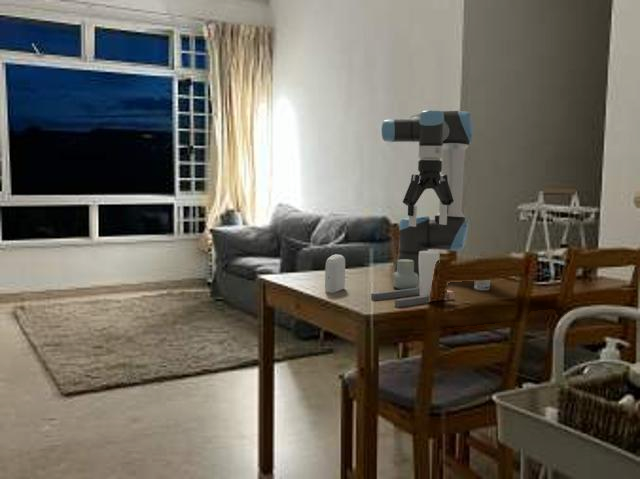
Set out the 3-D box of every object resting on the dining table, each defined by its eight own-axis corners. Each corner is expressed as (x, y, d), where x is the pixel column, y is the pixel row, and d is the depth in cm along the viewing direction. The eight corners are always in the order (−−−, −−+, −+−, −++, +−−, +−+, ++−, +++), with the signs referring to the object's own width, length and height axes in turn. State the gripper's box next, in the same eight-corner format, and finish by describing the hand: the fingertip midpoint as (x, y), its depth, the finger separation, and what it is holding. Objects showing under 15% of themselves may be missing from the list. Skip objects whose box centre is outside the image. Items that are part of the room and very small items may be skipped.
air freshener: (390, 285, 235) (391, 258, 234) (412, 285, 236) (413, 258, 235) (396, 291, 224) (397, 262, 223) (420, 291, 225) (421, 262, 224)
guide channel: (425, 292, 223) (425, 285, 223) (453, 299, 212) (453, 291, 212) (371, 299, 209) (371, 291, 209) (398, 307, 199) (398, 299, 198)
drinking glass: (415, 294, 218) (416, 250, 217) (434, 294, 219) (436, 250, 217) (419, 298, 212) (421, 253, 210) (440, 298, 212) (442, 253, 211)
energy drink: (490, 288, 232) (491, 255, 231) (488, 291, 227) (490, 257, 226) (474, 287, 234) (476, 254, 233) (473, 289, 229) (474, 256, 228)
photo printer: (335, 293, 218) (335, 257, 217) (323, 292, 220) (324, 256, 219) (346, 288, 228) (347, 253, 226) (335, 287, 229) (335, 252, 228)
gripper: (409, 159, 199) (407, 228, 201) (466, 160, 213) (463, 224, 215) (393, 158, 205) (391, 225, 207) (449, 160, 219) (446, 222, 221)
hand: (427, 225), depth 211 cm, fingers open, 13 cm apart
